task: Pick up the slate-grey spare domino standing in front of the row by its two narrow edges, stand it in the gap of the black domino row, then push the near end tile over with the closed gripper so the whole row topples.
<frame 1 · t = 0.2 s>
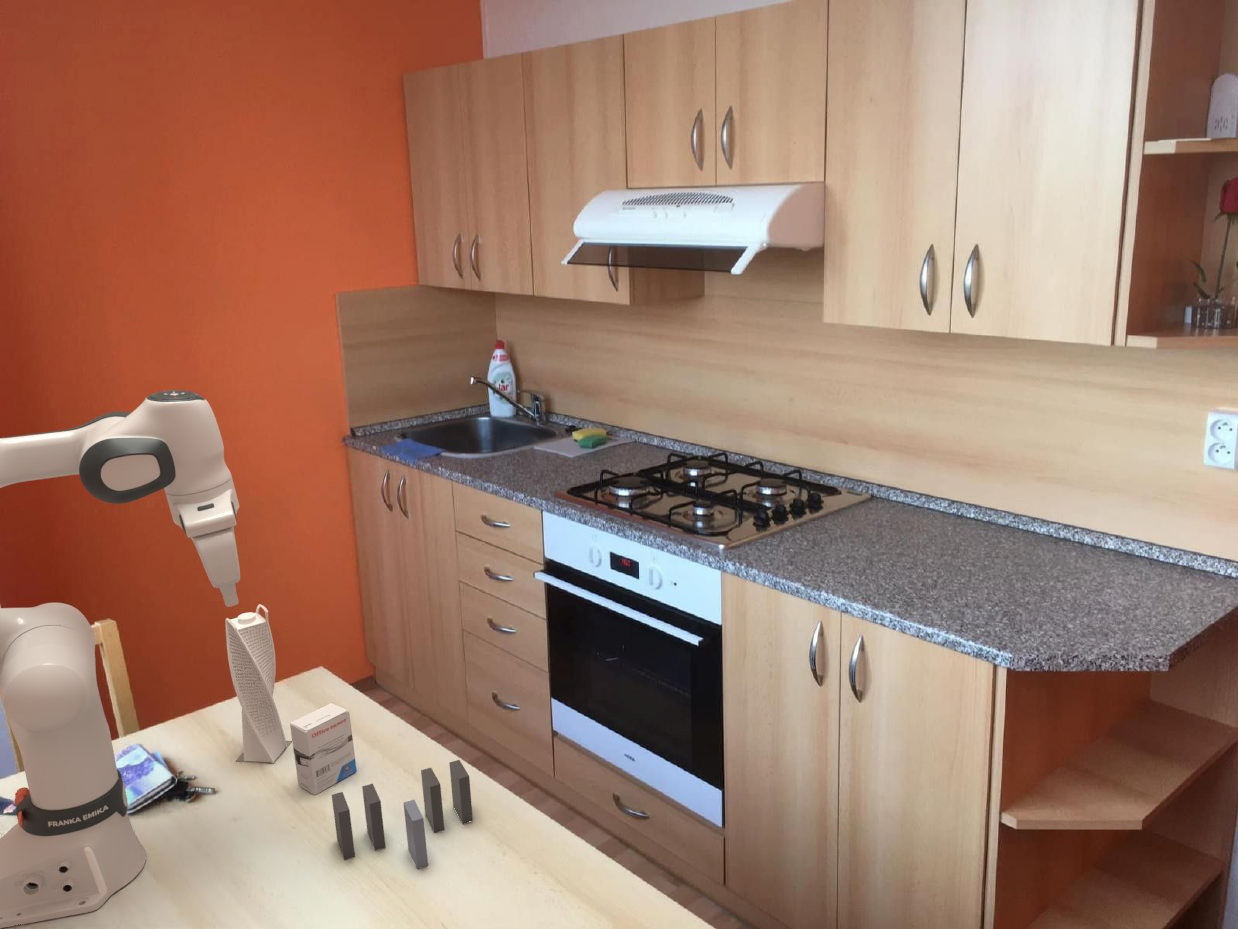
hand: (228, 592, 148), 39 cm above the table, tool pointing down, fingers open, 8 cm apart
ink box: (327, 780, 171), on the table
domino 2: (376, 840, 155), on the table
domino 5: (462, 814, 161), on the table
domino 1: (346, 849, 153), on the table
spare domino: (418, 857, 151), on the table
domino 4: (434, 822, 159), on the table
skyscraper: (267, 756, 179), on the table
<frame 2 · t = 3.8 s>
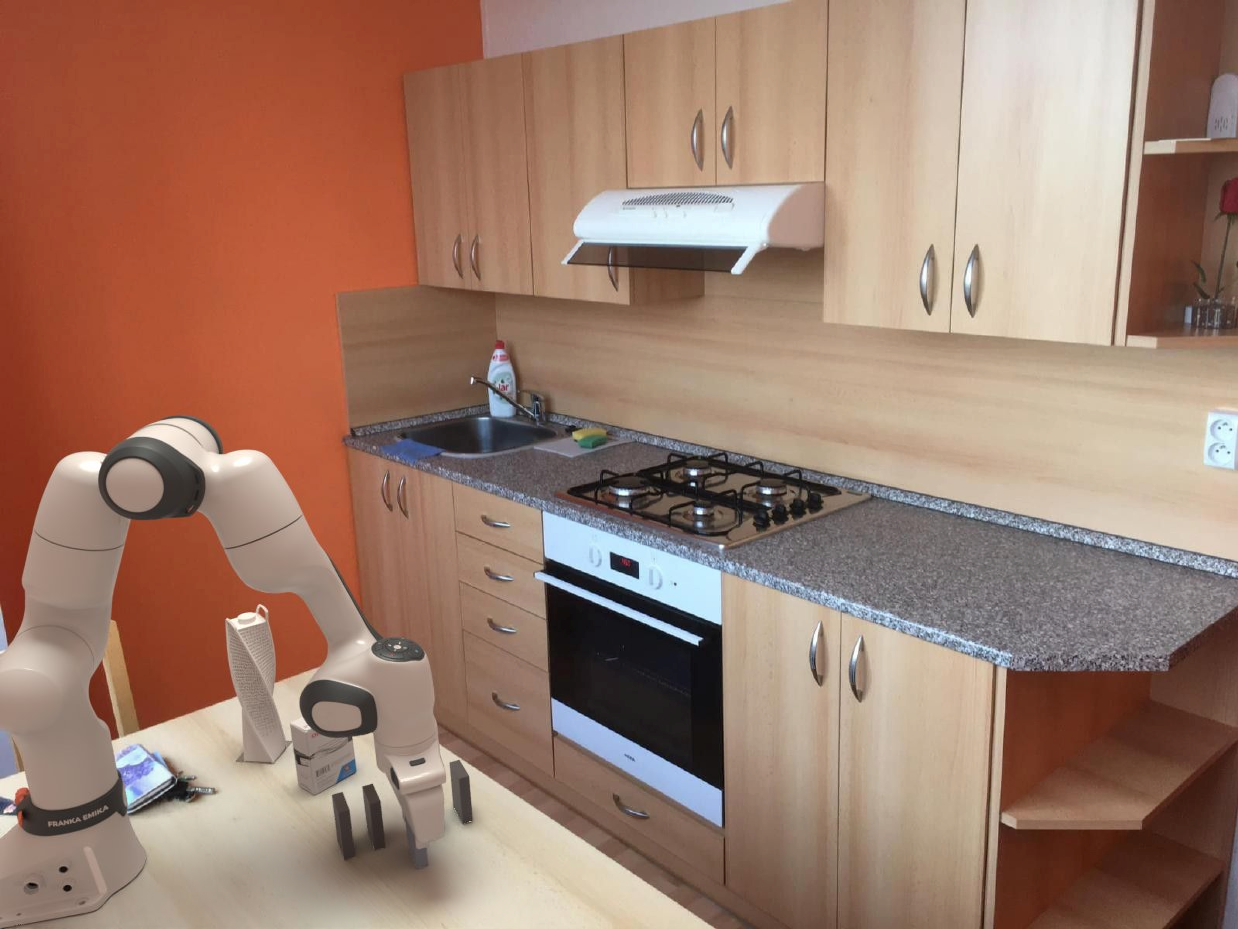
hand: (415, 833, 150), 4 cm above the table, tool pointing down, fingers closed on spare domino, 5 cm apart
spare domino: (418, 857, 151), on the table, touching gripper
everything else where it was.
when the fingers open (5 cm above the table, at t = 8.2 s): spare domino stays where it is, on the table.
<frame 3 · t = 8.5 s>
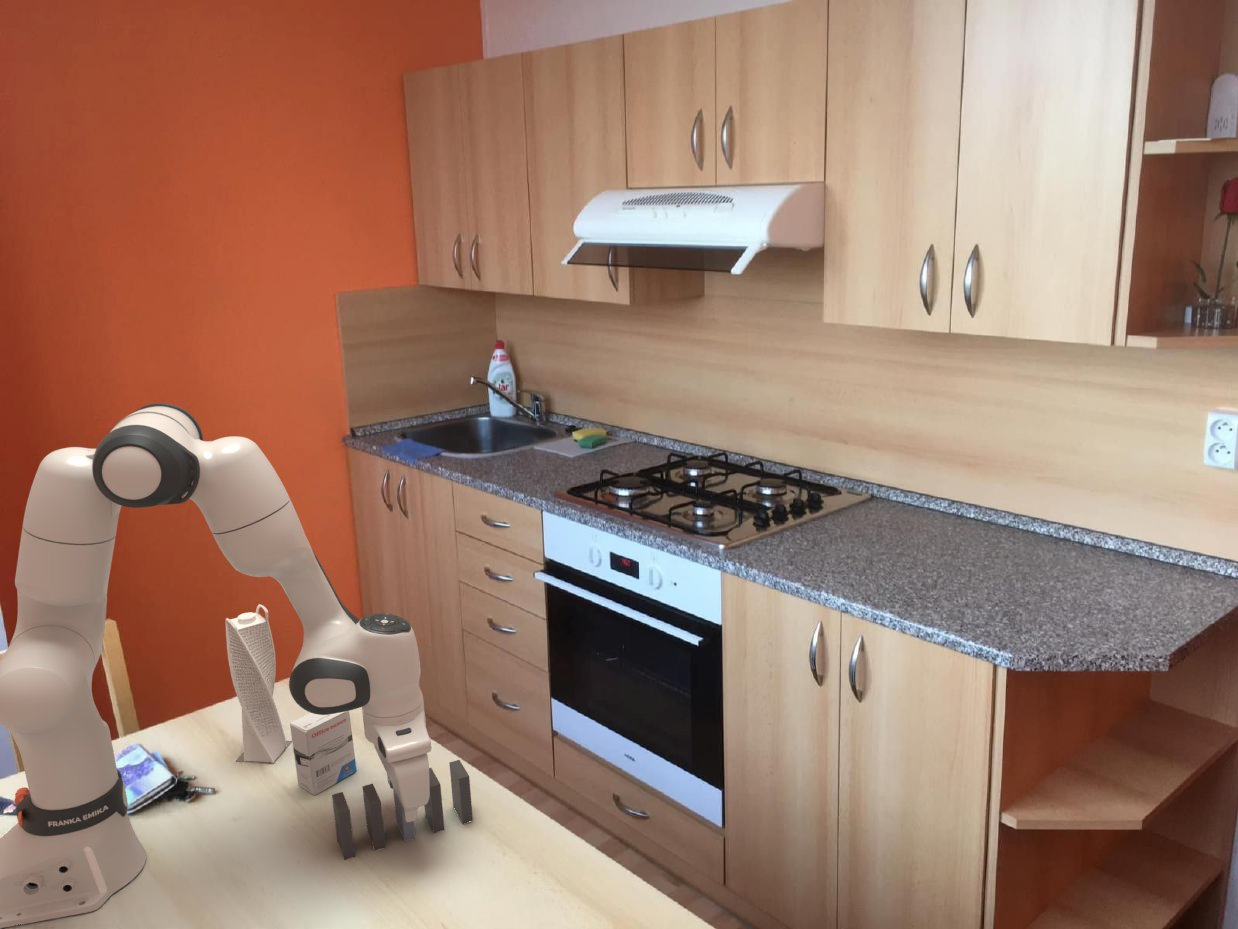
hand: (402, 802, 156), 5 cm above the table, tool pointing down, fingers open, 8 cm apart
spare domino: (405, 831, 157), on the table
everything else where it was.
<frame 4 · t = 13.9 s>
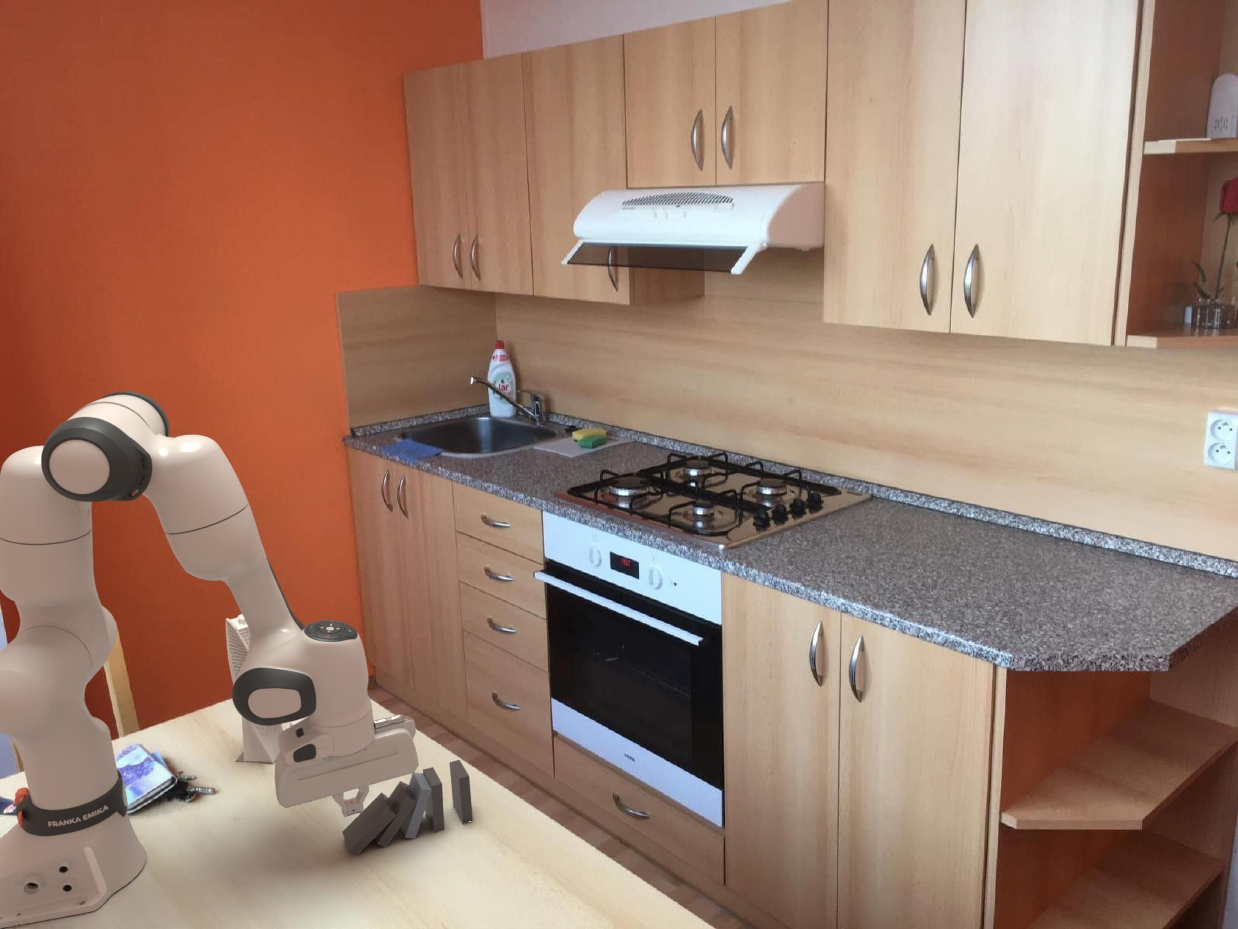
hand: (353, 812, 152), 6 cm above the table, tool pointing down, fingers closed
domino 2: (377, 836, 155), point 1 cm above the table, tilted 41°, touching domino 1
domino 1: (349, 844, 153), point 1 cm above the table, tilted 53°, touching domino 2
spare domino: (406, 829, 157), on the table, tilted 23°
everything else where it was.
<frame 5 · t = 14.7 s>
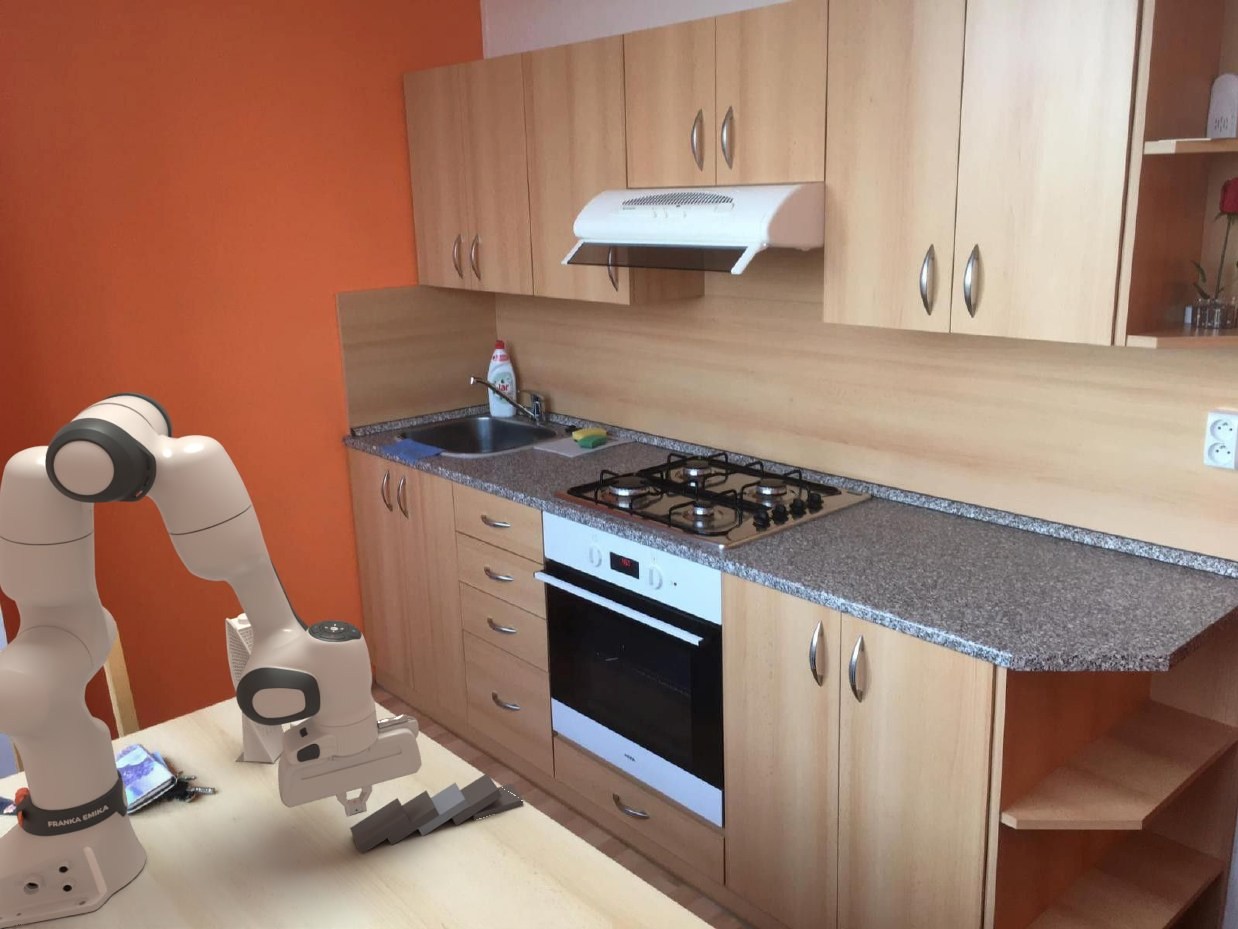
hand: (356, 812, 153), 6 cm above the table, tool pointing down, fingers closed
domino 2: (385, 832, 156), point 1 cm above the table, tilted 70°, touching domino 1, spare domino
domino 5: (469, 810, 161), on the table, tilted 90°, touching domino 4
domino 1: (355, 841, 154), point 1 cm above the table, tilted 70°, touching domino 2
spare domino: (415, 823, 158), point 1 cm above the table, tilted 71°, touching domino 2
domino 4: (449, 813, 160), point 1 cm above the table, tilted 71°, touching domino 5
everything else where it was.
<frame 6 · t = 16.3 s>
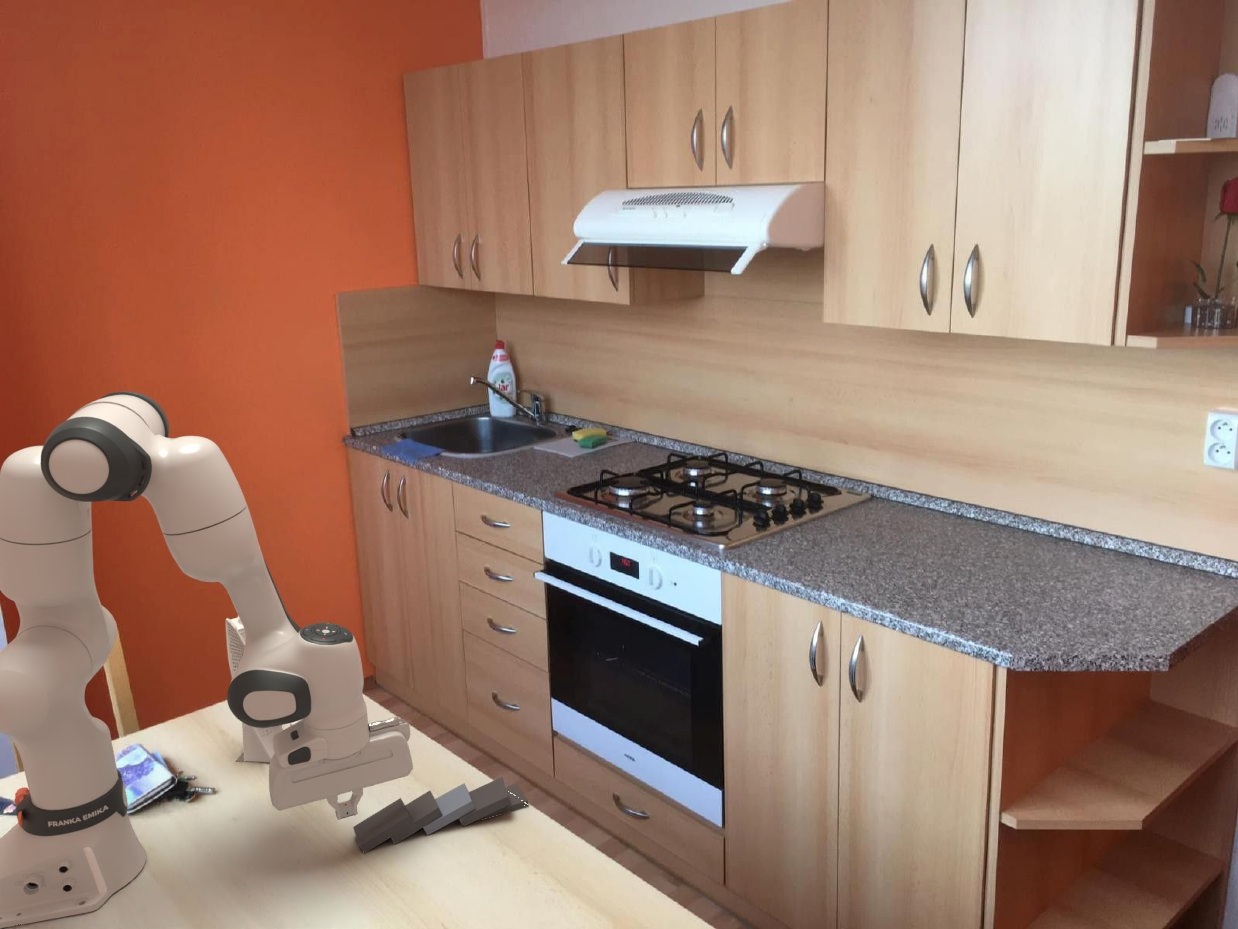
hand: (346, 815, 152), 5 cm above the table, tool pointing down, fingers closed
domino 5: (474, 810, 161), on the table, tilted 90°
spare domino: (422, 822, 158), point 1 cm above the table, tilted 71°, touching domino 2, domino 4
domino 4: (458, 812, 159), point 1 cm above the table, tilted 72°, touching spare domino
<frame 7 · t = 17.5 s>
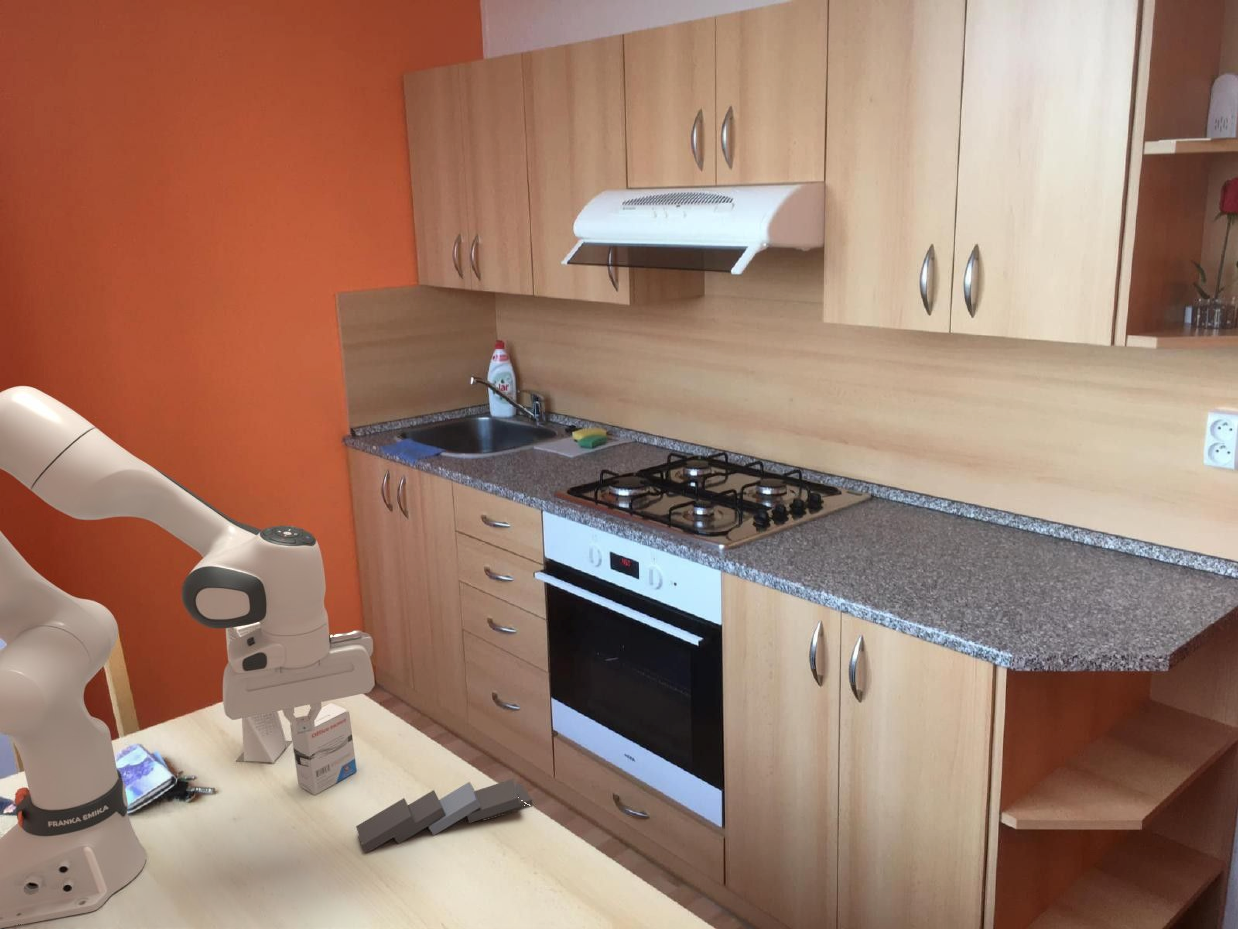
hand: (303, 730, 146), 21 cm above the table, tool pointing down, fingers closed
domino 2: (392, 831, 156), point 1 cm above the table, tilted 71°, touching domino 1
domino 5: (478, 810, 161), on the table, tilted 90°, touching domino 4
spare domino: (428, 822, 158), point 1 cm above the table, tilted 68°, touching domino 4
domino 4: (466, 808, 160), point 1 cm above the table, tilted 79°, touching domino 5, spare domino
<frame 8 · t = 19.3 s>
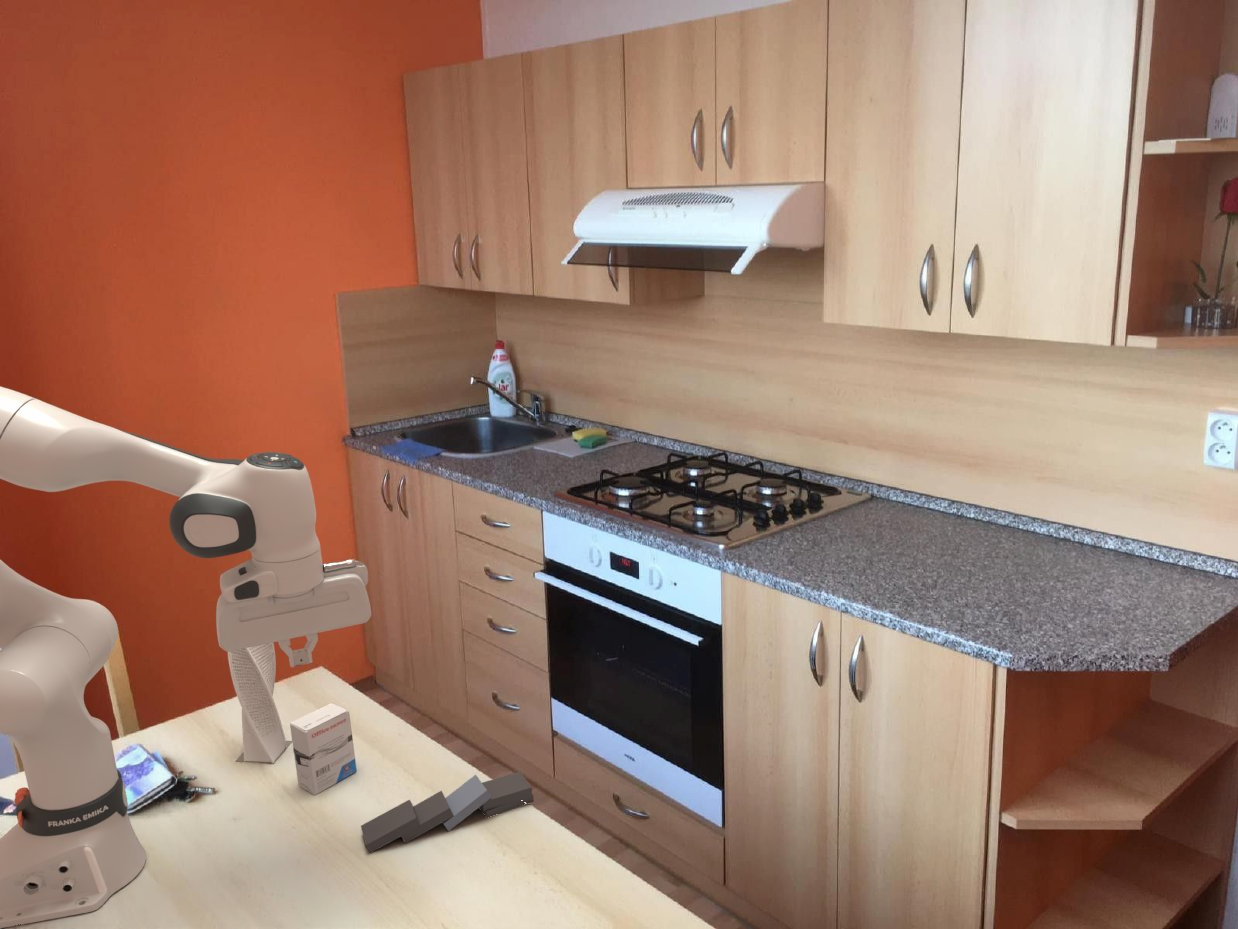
hand: (301, 663, 143), 31 cm above the table, tool pointing down, fingers closed
domino 2: (399, 830, 156), point 1 cm above the table, tilted 72°, touching domino 1, spare domino
spare domino: (440, 819, 158), point 1 cm above the table, tilted 65°, touching domino 2
domino 4: (478, 798, 161), point 2 cm above the table, tilted 90°, touching domino 5
at the end: domino 5 tilted 90°; spare domino inside the target area (4.5 cm from its centre), point 0.7 cm above the table; spare domino tilted 66° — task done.
